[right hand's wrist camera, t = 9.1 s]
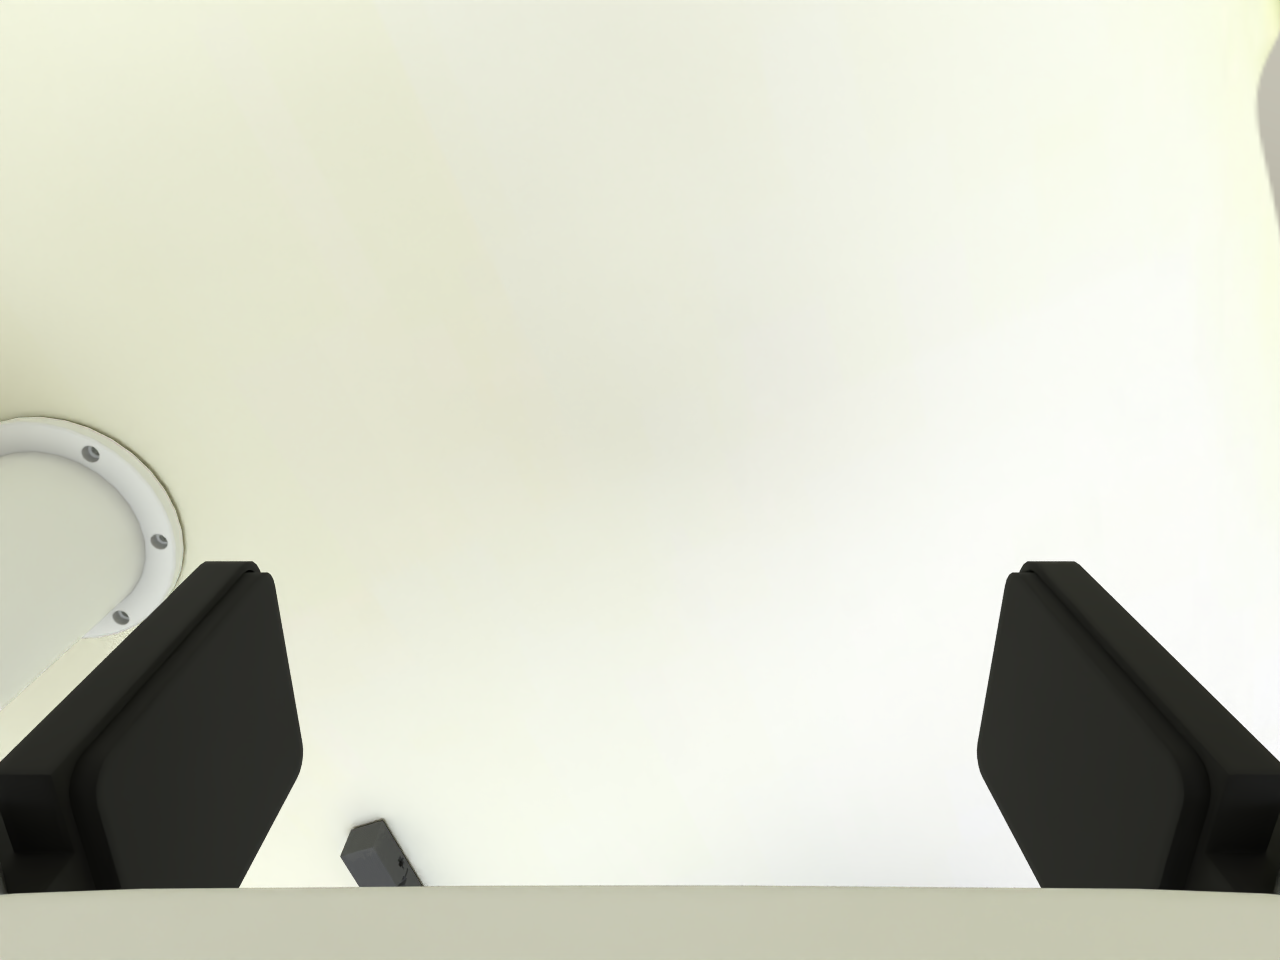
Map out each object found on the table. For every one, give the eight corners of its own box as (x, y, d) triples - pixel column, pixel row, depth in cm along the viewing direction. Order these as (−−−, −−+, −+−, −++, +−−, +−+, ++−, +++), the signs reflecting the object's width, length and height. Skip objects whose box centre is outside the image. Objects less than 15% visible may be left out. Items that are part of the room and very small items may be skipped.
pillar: (372, 846, 52) (504, 1062, 59) (382, 820, 54) (509, 1031, 61) (340, 856, 53) (475, 1069, 60) (351, 829, 55) (480, 1038, 62)
